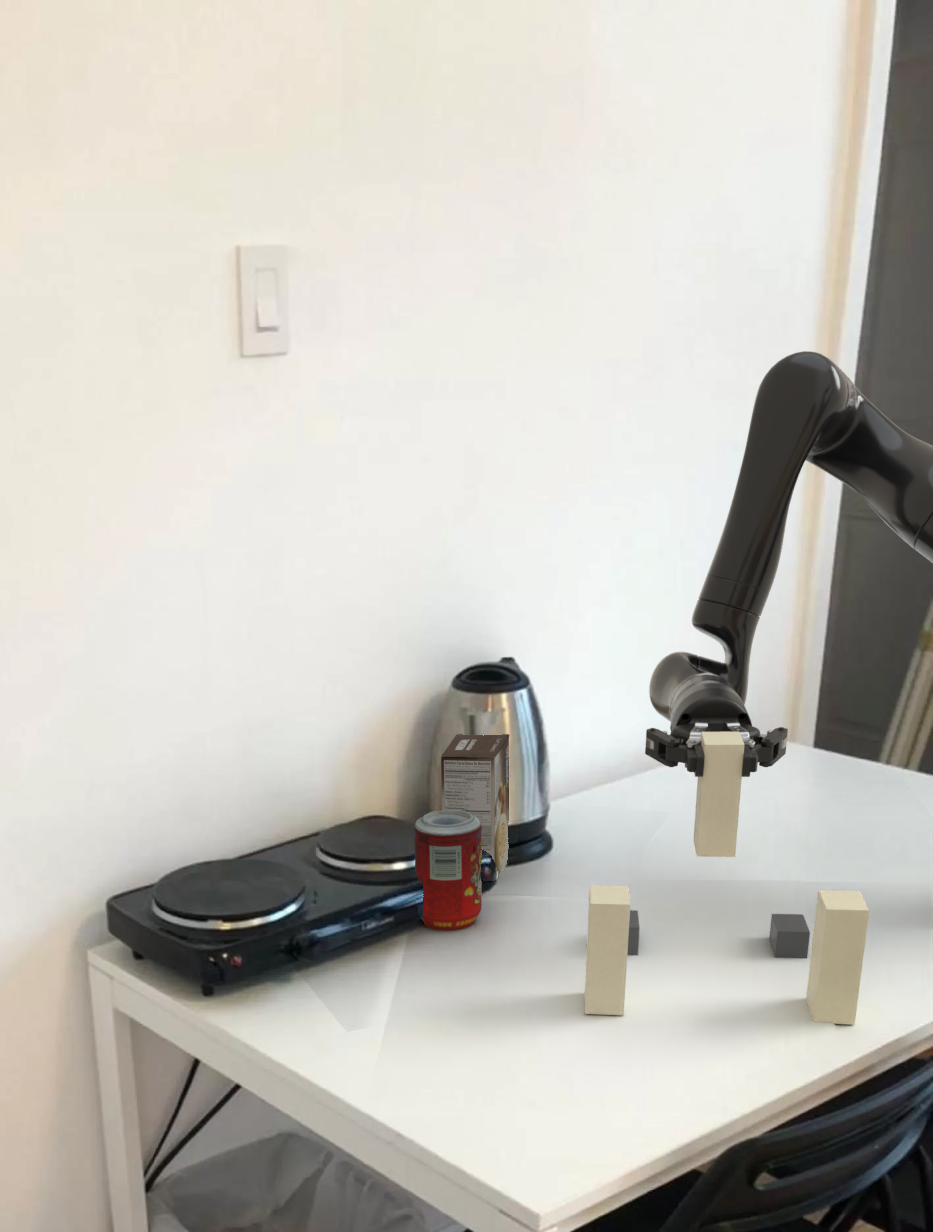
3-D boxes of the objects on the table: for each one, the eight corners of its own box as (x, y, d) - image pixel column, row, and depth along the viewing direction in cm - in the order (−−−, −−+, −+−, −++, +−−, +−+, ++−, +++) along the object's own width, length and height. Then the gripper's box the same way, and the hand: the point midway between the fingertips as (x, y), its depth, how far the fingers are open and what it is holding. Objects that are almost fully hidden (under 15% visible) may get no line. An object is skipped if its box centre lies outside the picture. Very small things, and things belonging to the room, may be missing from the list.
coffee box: (456, 860, 181) (455, 732, 174) (509, 863, 179) (510, 733, 172) (441, 888, 173) (439, 754, 167) (496, 891, 171) (497, 756, 164)
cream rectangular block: (622, 994, 143) (628, 885, 138) (623, 1015, 138) (630, 904, 134) (584, 992, 144) (589, 885, 139) (584, 1014, 139) (590, 903, 135)
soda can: (487, 933, 159) (486, 824, 154) (420, 938, 159) (417, 830, 154) (476, 909, 165) (475, 803, 160) (412, 913, 166) (409, 808, 161)
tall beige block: (730, 841, 147) (739, 731, 142) (735, 857, 142) (744, 744, 138) (693, 840, 148) (701, 731, 143) (696, 856, 143) (704, 744, 139)
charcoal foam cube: (799, 946, 151) (803, 914, 150) (806, 965, 147) (810, 932, 145) (768, 945, 152) (771, 913, 150) (774, 964, 147) (777, 931, 146)
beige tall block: (845, 1002, 138) (859, 890, 134) (854, 1025, 134) (869, 910, 129) (805, 1001, 139) (818, 890, 135) (813, 1023, 134) (826, 909, 130)
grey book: (635, 941, 155) (637, 910, 153) (637, 959, 150) (639, 927, 149) (605, 940, 155) (607, 909, 154) (606, 958, 151) (608, 926, 150)
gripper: (640, 688, 154) (646, 727, 139) (785, 686, 151) (808, 726, 136) (636, 758, 157) (642, 805, 142) (778, 758, 154) (800, 805, 139)
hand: (723, 766), depth 139 cm, fingers closed on tall beige block, 3 cm apart
